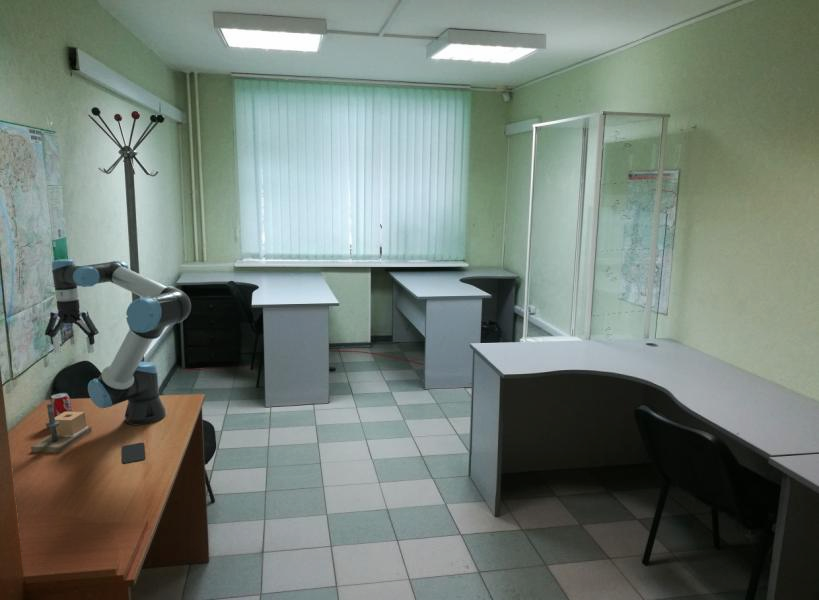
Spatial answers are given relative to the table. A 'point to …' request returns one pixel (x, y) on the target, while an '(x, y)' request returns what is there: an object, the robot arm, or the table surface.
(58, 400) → the soda can
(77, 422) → the collar
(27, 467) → the table surface
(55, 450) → the stand
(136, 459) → the phone
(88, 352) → the robot arm
